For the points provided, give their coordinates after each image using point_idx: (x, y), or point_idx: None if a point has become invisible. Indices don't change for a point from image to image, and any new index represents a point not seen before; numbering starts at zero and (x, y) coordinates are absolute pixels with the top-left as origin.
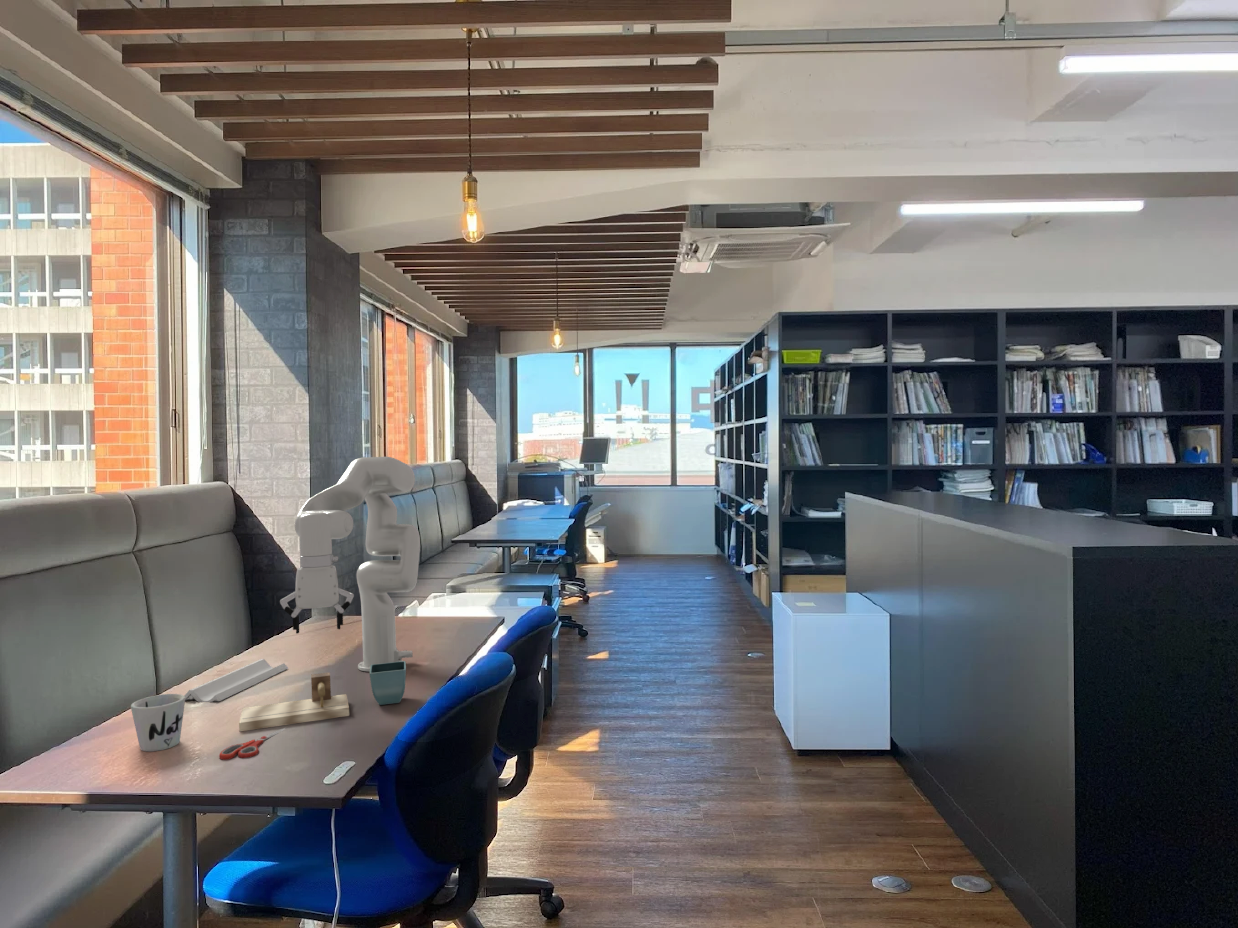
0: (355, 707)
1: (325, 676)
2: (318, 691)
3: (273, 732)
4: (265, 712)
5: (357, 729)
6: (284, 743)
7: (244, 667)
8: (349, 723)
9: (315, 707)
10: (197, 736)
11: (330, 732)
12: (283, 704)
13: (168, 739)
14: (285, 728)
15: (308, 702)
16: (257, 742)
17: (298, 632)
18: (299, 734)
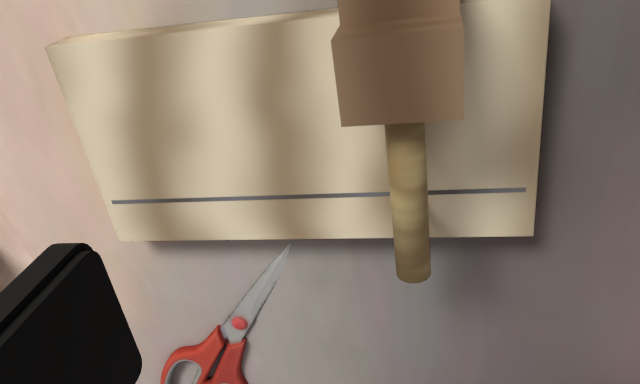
0: (572, 108)
1: (432, 118)
2: (397, 262)
3: (256, 284)
4: (175, 157)
5: (537, 360)
6: (311, 372)
7: None
8: (517, 297)
9: (382, 176)
10: (16, 214)
11: (445, 348)
12: (222, 67)
13: None
14: (287, 253)
15: None
16: (234, 363)
17: (134, 368)
18: (345, 325)
